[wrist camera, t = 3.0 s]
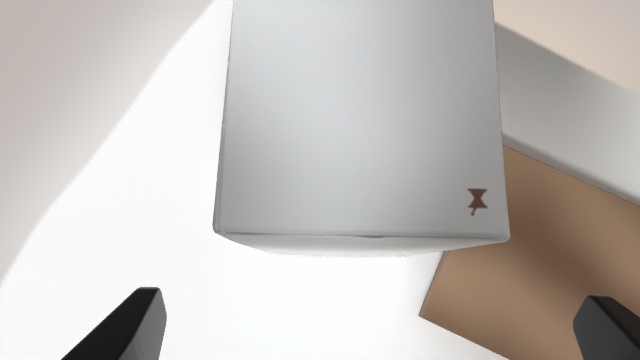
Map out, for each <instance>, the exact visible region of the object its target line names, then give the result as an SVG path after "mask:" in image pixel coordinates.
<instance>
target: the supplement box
mask: <svg viewBox="0 0 640 360" xmlns="http://www.w3.org/2000/svg"><path fill="white" fill-rule="evenodd" d="M213 230H214V232H215V233H217V234H219V235H221V236H223V237H225V238H227V239H230V240H232V241H234V242H237V243H240V244H243V245H246V246H249V247H252V248H255V249H258V250H260V251H263V252H265V253H268V254H274V255H291V256H311V257H403V256H411V255H417V254H424V253H431V252H439V251H446V250H454V249H460V248H468V247H474V246H482V245H488V244H495V243H503V242H507V241H508V240H509V239H510V228H509V218H508V207H507V196H506V185H505V174H504V161H503V147H502V132H501V114H500V101H499V85H498V70H497V56H496V42H495V26H494V11H493V0H233V13H232V24H231V36H230V48H229V58H228V69H227V79H226V89H225V100H224V110H223V120H222V131H221V141H220V152H219V162H218V173H217V184H216V195H215V205H214V215H213Z"/></svg>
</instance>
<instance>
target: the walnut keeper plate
mask: <svg viewBox="0 0 640 360" xmlns="http://www.w3.org/2000/svg"><path fill="white" fill-rule="evenodd" d="M502 147H503V161H504V174H505V185H506V196H507V207H508V218H509V228H510V239H509V240H508V241H507V242H503V243H495V244H488V245H482V246H474V247H468V248H460V249H454V250H446V251H444V254H443V256H442V259H441V261H440V264H439V266H438V269H437V271H436V274H435V276H434V279H433V281H432V284H431V286H430V289H429V291H428V294H427V296H426V299H425V301H424V304H423V306H422V309H421V311H420V313H419V316H420V317H422V318H424V319H426V320H428V321H430V322H432V323H434V324H436V325H438V326H440V327H443V328H445V329H447V330H449V331H451V332H453V333H455V334H457V335H459V336H461V337H463V338H466V339H468V340H470V341H472V342H474V343H476V344H478V345H480V346H482V347H484V348H487V349H489V350H491V351H493V352H495V353H497V354H499V355H501V356H503V357H505V358H507V359H510V360H583V358H582V355H581V352H580V349H579V346H578V343H577V340H576V337H575V334H574V331H573V319H574V317H575V315H576V313H577V311H578V309H579V307H580V306H581V304H582V302H583V300H584V298H585V297H586V296H588V295H608V296H611V297H612V298H614V299H615V300H617V301H618V302H620V303H621V304H622V305H624V306H625V307H627V308H628V309H629V310H631V311H632V312H634V313H635V314H637V315H638V316H639V317H640V206H637V205H635V204H633V203H631V202H628V201H626V200H624V199H622V198H619V197H617V196H615V195H613V194H611V193H608V192H606V191H604V190H602V189H599V188H597V187H595V186H593V185H591V184H588V183H586V182H584V181H582V180H579V179H577V178H575V177H573V176H571V175H568V174H566V173H564V172H562V171H559V170H557V169H555V168H553V167H551V166H548V165H546V164H544V163H542V162H539V161H537V160H535V159H533V158H531V157H528V156H526V155H524V154H522V153H519V152H517V151H515V150H513V149H510V148H508V147H506V146H504V145H502Z"/></svg>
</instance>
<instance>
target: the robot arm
mask: <svg viewBox="0 0 640 360" xmlns="http://www.w3.org/2000/svg"><path fill="white" fill-rule="evenodd" d="M166 320H167V314H166V309H165V305H164V301H163V297H162V293H161V290H160V289H159V288H157V287H140V288H138V289H136V290H135V291H134V292H133V293H132V294H131V295H130V296H129V297H128V298H126V299H125V300H124V301H123V302H122V303H121V304H120V305H119V306H118V307H117V308H116V309H115V310H114V311H113V312H111V313H110V314H109V315H108V316H107V317H106V318H105V319H104V320H103V321H102V322H101V323H100V324H99V325H98V326H96V327H95V328H94V329H93V330H92V331H91V332H90V333H89V334H88V335H87V336H86V337H85V338H84V339H83V340H82V341H80V342H79V343H78V344H77V345H76V346H75V347H74V348H73V349H72V350H71V351H70V352H69V353H68V354H67V355H65V356H64V357H63V358H62V359H61V360H159V355H160V350H161V346H162V341H163V336H164V332H165V327H166ZM573 331H574V334H575V337H576V340H577V343H578V346H579V349H580V352H581V355H582V358H583V360H640V317H639V316H638V315H637V314H635V313H634V312H632V311H631V310H629V309H628V308H627V307H625V306H624V305H622V304H621V303H620V302H618V301H617V300H615V299H614V298H612V297H611V296H608V295H588V296H586V297H585V298H584V300H583V302H582V304H581V306H580V307H579V309H578V311H577V313H576V315H575V317H574V319H573Z"/></svg>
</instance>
